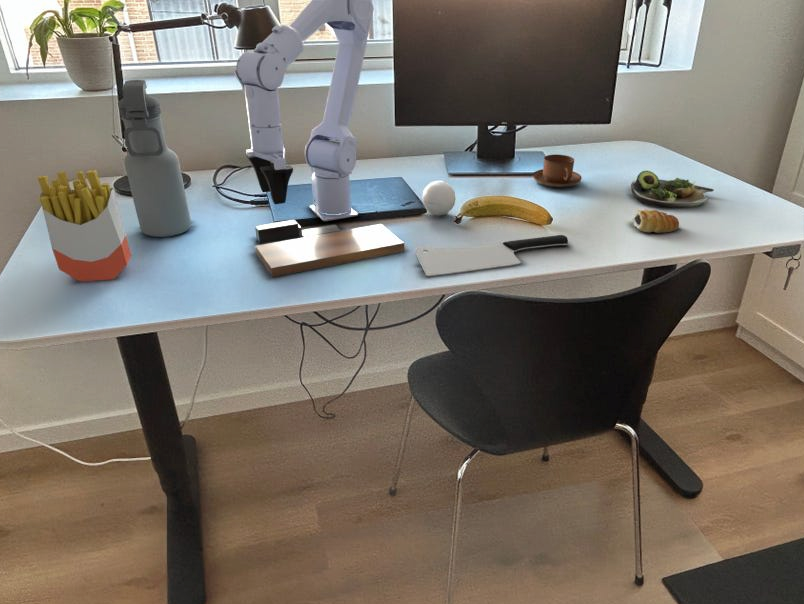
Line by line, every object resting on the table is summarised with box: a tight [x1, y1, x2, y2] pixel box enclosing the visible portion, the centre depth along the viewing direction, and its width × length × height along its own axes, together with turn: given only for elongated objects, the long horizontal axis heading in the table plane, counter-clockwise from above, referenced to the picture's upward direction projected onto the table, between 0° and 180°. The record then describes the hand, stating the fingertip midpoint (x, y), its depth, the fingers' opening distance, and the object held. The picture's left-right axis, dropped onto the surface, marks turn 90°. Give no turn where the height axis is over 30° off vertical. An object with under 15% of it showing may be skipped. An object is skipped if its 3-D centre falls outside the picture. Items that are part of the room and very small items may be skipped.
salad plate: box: [630, 170, 715, 208], centre depth 157 cm, size 19×18×5 cm
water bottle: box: [117, 79, 192, 238], centre depth 127 cm, size 10×10×28 cm
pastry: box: [632, 209, 680, 234], centre depth 140 cm, size 9×7×4 cm
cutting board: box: [254, 223, 405, 278], centre depth 126 cm, size 11×26×2 cm, turn 119°
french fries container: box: [37, 169, 132, 282], centre depth 111 cm, size 5×11×18 cm, turn 102°
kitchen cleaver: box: [415, 234, 569, 277], centre depth 126 cm, size 31×2×10 cm
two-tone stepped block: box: [254, 219, 342, 244], centre depth 133 cm, size 4×17×3 cm, turn 119°
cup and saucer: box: [532, 154, 583, 188], centre depth 163 cm, size 12×12×6 cm
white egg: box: [415, 180, 457, 216], centre depth 143 cm, size 10×7×7 cm
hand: (273, 197), depth 127 cm, fingers open, 7 cm apart
